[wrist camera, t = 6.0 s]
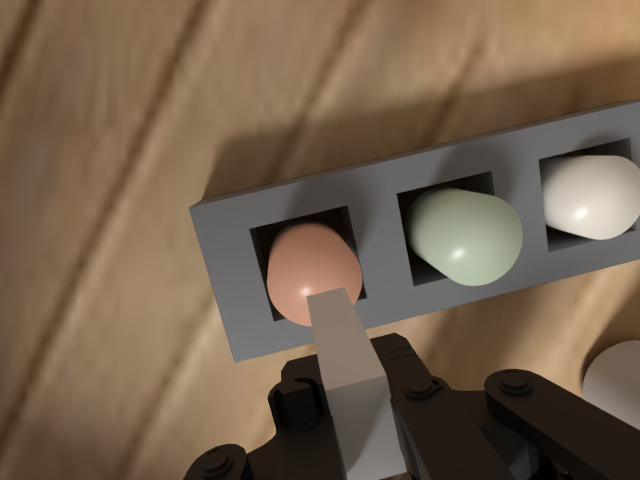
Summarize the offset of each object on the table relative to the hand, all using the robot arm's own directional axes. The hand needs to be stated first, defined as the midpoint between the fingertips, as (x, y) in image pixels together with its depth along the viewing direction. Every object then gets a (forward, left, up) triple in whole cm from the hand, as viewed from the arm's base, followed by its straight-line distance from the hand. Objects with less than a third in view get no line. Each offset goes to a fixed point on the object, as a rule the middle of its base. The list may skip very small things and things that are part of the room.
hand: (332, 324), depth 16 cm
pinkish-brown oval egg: (0, 0, -11) cm, 11 cm away
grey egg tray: (+9, 0, -13) cm, 16 cm away
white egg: (+18, 0, -13) cm, 22 cm away
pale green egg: (+9, 0, -11) cm, 14 cm away
